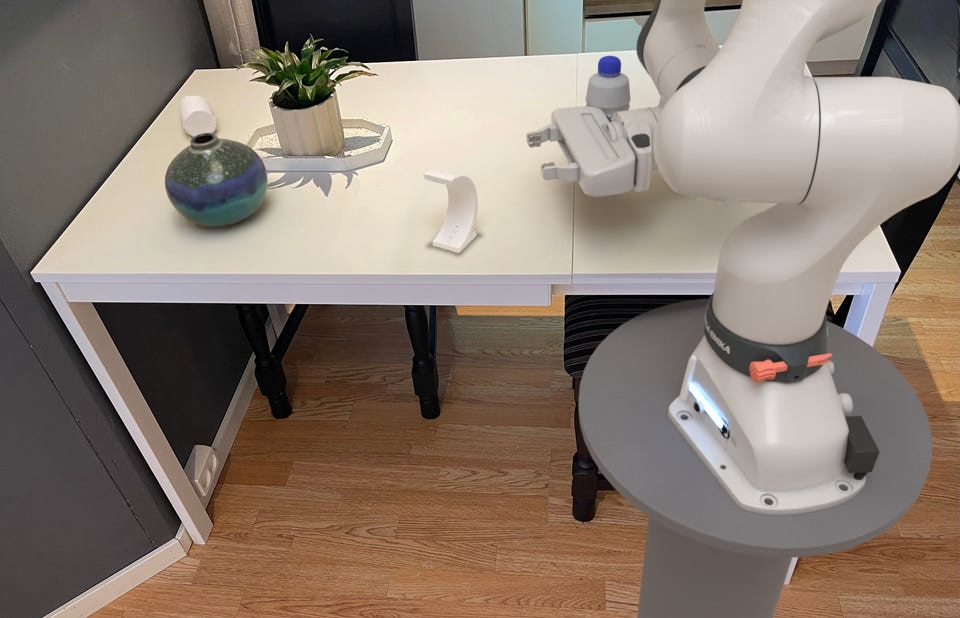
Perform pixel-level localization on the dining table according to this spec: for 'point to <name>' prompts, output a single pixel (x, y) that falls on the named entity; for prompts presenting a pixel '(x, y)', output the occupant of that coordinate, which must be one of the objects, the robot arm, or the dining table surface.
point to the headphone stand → (456, 210)
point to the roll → (196, 115)
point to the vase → (216, 181)
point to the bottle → (609, 87)
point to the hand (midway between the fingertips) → (534, 155)
